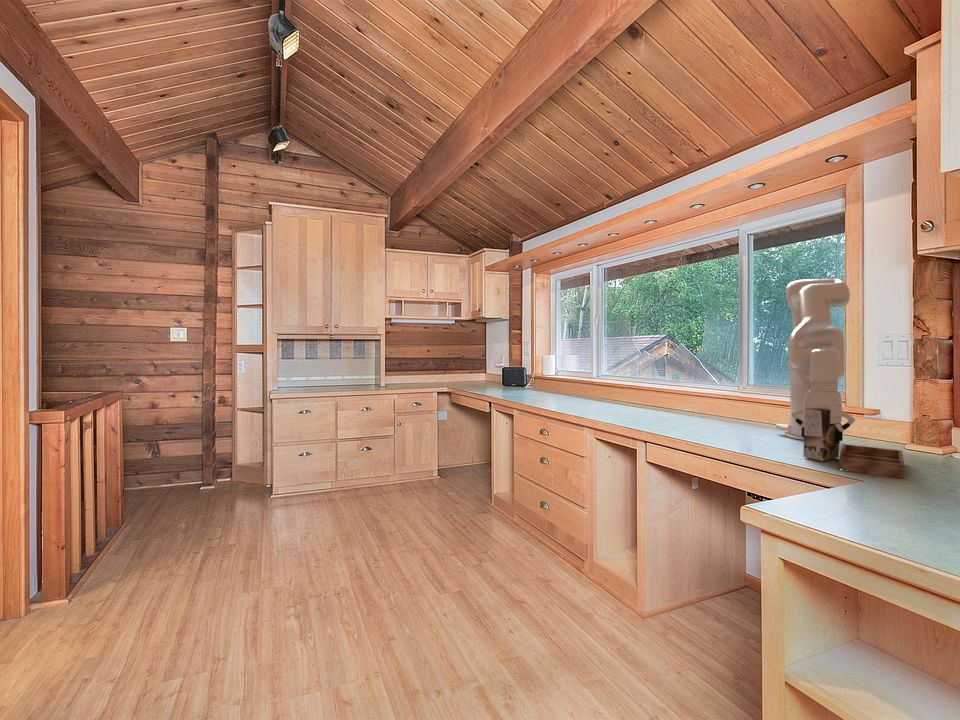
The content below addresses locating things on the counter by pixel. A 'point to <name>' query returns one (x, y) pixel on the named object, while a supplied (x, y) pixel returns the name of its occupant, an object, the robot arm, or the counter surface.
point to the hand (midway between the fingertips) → (821, 440)
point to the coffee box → (820, 435)
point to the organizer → (872, 461)
